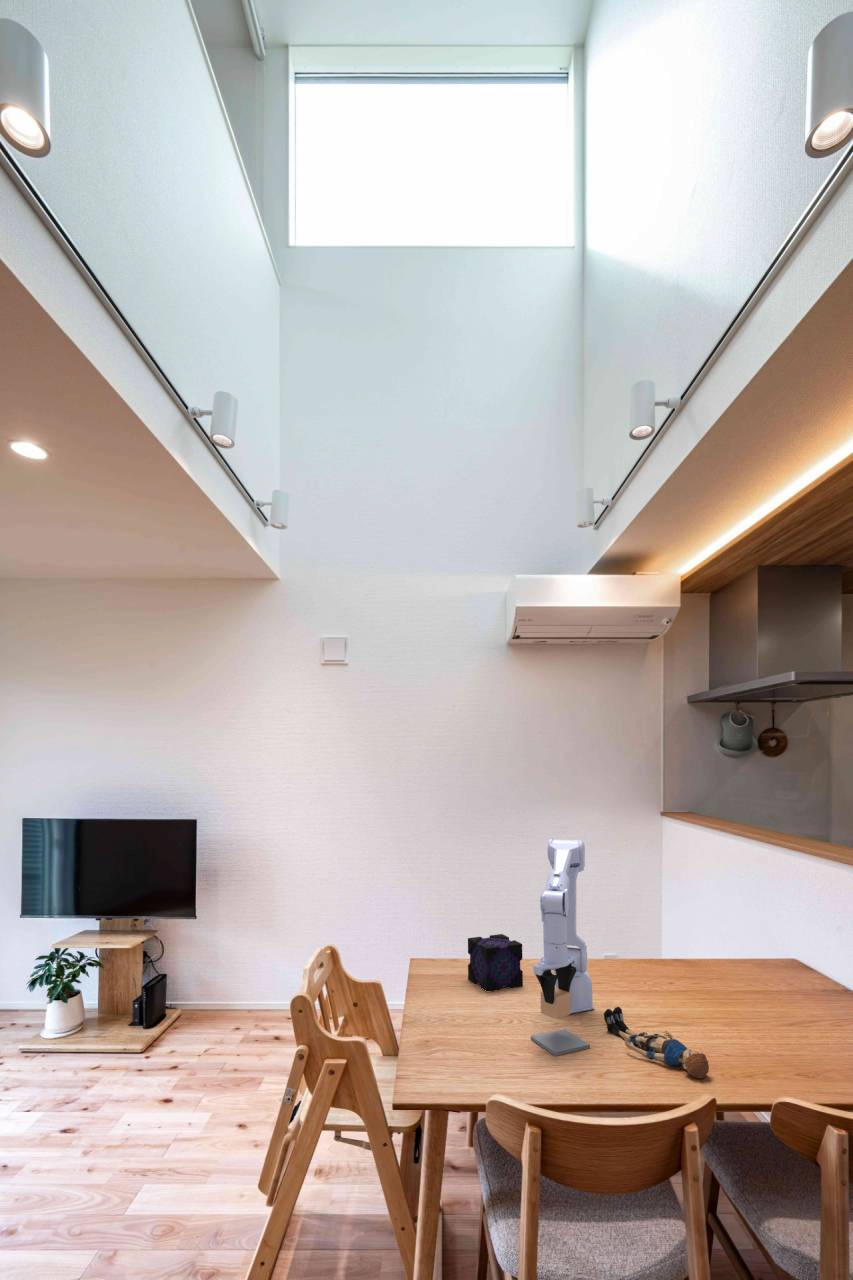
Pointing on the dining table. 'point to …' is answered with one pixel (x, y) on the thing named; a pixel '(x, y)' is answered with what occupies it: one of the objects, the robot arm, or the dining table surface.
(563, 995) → the terracotta cube
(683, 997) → the dining table surface
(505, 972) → the energy cube
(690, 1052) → the figurine
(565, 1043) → the plate
